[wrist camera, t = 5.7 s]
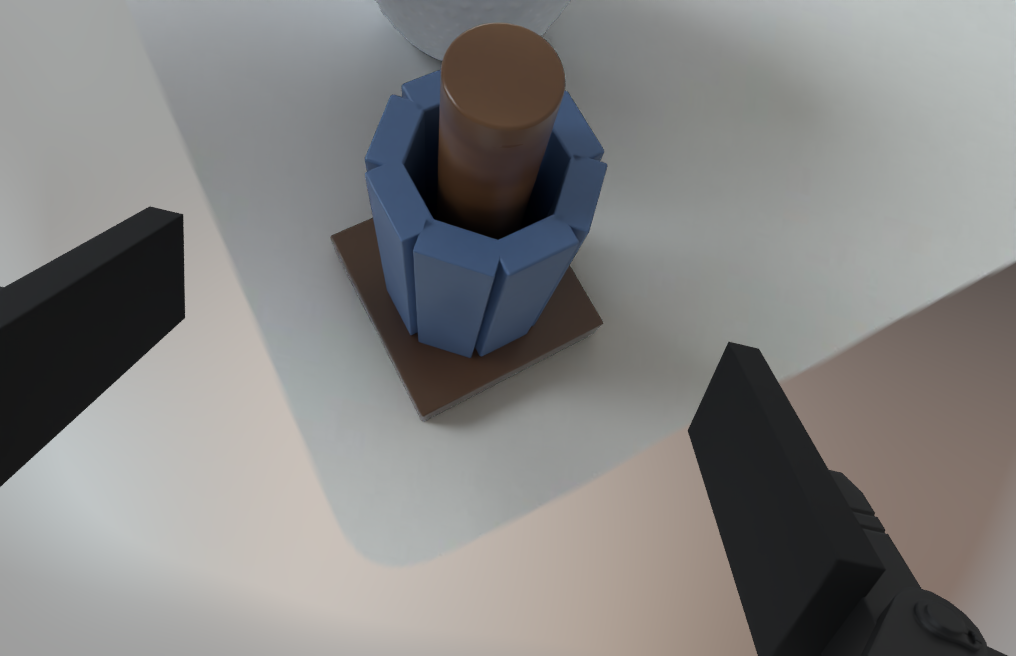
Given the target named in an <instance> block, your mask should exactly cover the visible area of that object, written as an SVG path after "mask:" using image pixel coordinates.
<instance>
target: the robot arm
mask: <svg viewBox="0 0 1016 656" xmlns="http://www.w3.org/2000/svg"><path fill="white" fill-rule="evenodd" d="M184 318H185V293H184V235H183V214H179V213H175V212H170V211H166V210H162V209H158V208H154V207H148V208H146V209H144V210H143V211H141V212H139V213H137V214H135V215H134V216H132V217H130V218H128V219H126V220H125V221H123V222H121V223H119V224H117V225H116V226H114V227H112V228H110V229H108V230H107V231H105V232H103V233H101V234H99V235H98V236H96V237H94V238H92V239H90V240H89V241H87V242H85V243H83V244H81V245H80V246H78V247H76V248H74V249H72V250H71V251H69V252H67V253H65V254H63V255H62V256H60V257H58V258H56V259H54V260H53V261H51V262H49V263H47V264H46V265H44V266H42V267H40V268H38V269H36V270H35V271H33V272H31V273H29V274H27V275H26V276H24V277H22V278H20V279H18V280H17V281H15V282H13V283H11V284H9V285H8V286H6V287H0V486H2V485H3V484H4V483H5V482H6V481H7V480H8V479H9V478H10V477H12V475H14V474H15V473H16V472H17V471H18V470H19V469H20V468H21V467H22V466H23V465H25V464H26V463H27V462H28V461H29V460H30V459H31V458H32V457H33V456H34V455H35V454H37V453H38V452H39V451H40V450H41V449H42V448H43V447H44V446H45V445H47V443H49V442H50V441H51V440H52V439H53V438H54V437H55V436H56V435H57V434H58V433H60V432H61V431H62V430H63V429H64V428H65V427H66V426H67V425H68V424H69V423H71V422H72V421H73V420H74V419H75V418H76V417H77V416H78V415H79V414H80V413H81V412H82V411H84V410H85V409H86V408H87V407H88V406H89V405H90V404H91V403H92V402H93V401H95V400H96V399H97V398H98V397H99V396H100V395H101V394H102V393H103V392H104V391H105V390H106V389H108V388H109V387H110V386H111V385H112V384H113V383H114V382H115V381H116V380H117V379H119V378H120V377H121V376H122V375H123V374H124V373H125V372H126V371H127V370H128V369H130V368H131V367H132V366H133V365H134V364H135V363H136V362H137V361H138V360H139V359H140V358H142V357H143V355H145V354H146V353H147V352H148V351H149V350H150V349H151V348H152V347H154V346H155V345H156V344H157V343H158V342H159V341H160V340H161V339H162V338H163V337H164V336H166V335H167V334H168V332H170V331H171V330H172V329H173V328H174V327H175V326H176V325H178V324H179V323H180V322H181V321H182V320H183V319H184ZM688 433H689V436H690V439H691V442H692V445H693V449H694V452H695V455H696V458H697V462H698V465H699V468H700V471H701V474H702V478H703V481H704V484H705V487H706V490H707V494H708V497H709V500H710V503H711V507H712V510H713V513H714V516H715V519H716V523H717V526H718V529H719V532H720V535H721V538H722V542H723V545H724V548H725V551H726V554H727V558H728V561H729V564H730V568H731V571H732V574H733V577H734V580H735V583H736V587H737V590H738V593H739V596H740V600H741V603H742V606H743V609H744V612H745V616H746V619H747V622H748V625H749V629H750V632H751V635H752V638H753V641H754V645H755V648H756V651H757V654H758V656H1007V655H1005V654H1003V653H1001V652H998V651H996V650H994V649H992V648H989V647H987V644H986V642H985V640H984V638H983V636H982V634H981V633H980V631H979V629H978V628H977V627H976V626H975V625H974V624H973V622H972V621H971V620H970V619H969V618H968V617H967V616H966V615H965V614H964V613H963V612H962V611H960V610H959V609H958V608H957V607H955V606H954V605H953V604H951V603H950V602H949V601H947V600H945V599H943V598H942V597H940V596H938V595H936V594H934V593H932V592H930V591H927V590H923V589H921V587H920V585H919V584H918V582H917V581H916V579H915V577H914V576H913V574H912V572H911V571H910V569H909V568H908V566H907V564H906V563H905V561H904V559H903V558H902V556H901V555H900V553H899V551H898V550H897V548H896V547H895V545H894V543H893V542H892V540H891V538H890V537H889V535H888V534H885V529H884V527H883V525H882V524H881V522H880V521H879V519H878V517H875V516H874V514H875V512H874V511H873V509H872V508H871V506H870V504H869V503H868V501H867V500H866V498H865V496H864V495H863V493H862V492H861V491H860V490H859V489H858V488H857V487H856V486H855V485H854V484H853V483H852V482H851V481H850V480H849V479H848V478H847V477H846V476H845V475H844V474H843V473H841V472H835V471H831V470H828V468H827V466H826V465H825V463H824V461H823V459H822V458H821V456H820V454H819V452H818V451H817V449H816V447H815V445H814V444H813V442H812V440H811V438H810V437H809V435H808V433H807V432H806V430H805V428H804V426H803V425H802V423H801V421H800V419H799V418H798V416H797V415H796V412H795V411H794V409H793V407H792V406H791V404H790V402H789V400H788V399H787V397H786V395H785V393H784V392H783V390H782V388H781V386H780V385H779V383H778V381H777V379H776V378H775V376H774V374H773V373H772V371H771V369H770V367H769V366H768V364H767V362H766V360H765V359H764V357H763V355H762V353H761V352H760V350H759V349H758V348H753V347H749V346H745V345H740V344H736V343H732V342H728V344H727V346H726V349H725V351H724V353H723V355H722V357H721V359H720V362H719V364H718V366H717V368H716V370H715V372H714V375H713V377H712V379H711V381H710V383H709V386H708V388H707V390H706V392H705V394H704V396H703V399H702V401H701V403H700V405H699V407H698V409H697V412H696V414H695V416H694V418H693V420H692V423H691V425H690V427H689V429H688Z"/></svg>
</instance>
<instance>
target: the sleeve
mask: <svg viewBox="0 0 1016 656" xmlns="http://www.w3.org/2000/svg"><path fill="white" fill-rule="evenodd" d="M440 79H441V70H438V71H435V72H433V73H430V74H427V75H425V76H422V77H420V78H417V79H414V80H412V81H409V82H406V83H404V84H403V85H402V86H401V87H402V97H400V96H397V95H391V96H390V98H389V100H388V103H387V105H386V108H385V110H384V113H383V115H382V117H381V120H380V122H379V125H378V127H377V130H376V132H375V134H374V137H373V139H372V142H371V144H370V147H369V149H368V151H367V154H366V156H365V164H366V169H367V172H366V173H365V178H366V183H367V188H368V193H369V199H370V204H371V209H372V215H373V220H374V225H375V230H376V236H377V241H378V246H379V251H380V257H381V262H382V267H383V272H384V278H385V283H386V288H387V291H388V293H389V295H390V297H391V299H392V301H393V303H394V305H395V306H396V308H397V310H398V312H399V314H400V316H401V318H402V320H403V322H404V324H405V326H406V328H407V330H408V331H409V333H410V335H413V334H415V333H417V332H418V341H419V342H421V343H424V344H427V345H430V346H433V347H436V348H440V349H443V350H446V351H449V352H452V353H456V354H459V355H462V356H465V357H468V358H471V357H472V354H473V351H474V347H475V348H476V350H477V352H478V354H479V356H484V355H486V354H488V353H490V352H492V351H494V350H496V349H498V348H500V347H502V346H504V345H506V344H508V343H510V342H512V341H514V340H516V339H518V338H520V337H522V336H524V335H526V334H527V333H528V331H529V329H530V327H531V326H534V325H535V323H536V321H537V320H538V318H539V316H540V315H541V313H542V311H543V309H544V308H545V306H546V304H547V303H548V301H549V299H550V298H551V296H552V294H553V292H554V291H555V289H556V287H557V286H558V284H559V282H560V280H561V279H562V277H563V275H564V274H565V272H566V270H567V268H568V267H569V265H570V263H571V262H572V260H573V258H574V257H575V255H576V253H577V251H578V250H579V248H580V246H581V245H582V243H583V241H584V239H585V238H586V236H587V234H588V233H589V230H590V227H591V223H592V220H593V216H594V212H595V209H596V205H597V202H598V198H599V194H600V191H601V187H602V184H603V180H604V176H605V173H606V169H607V164H606V163H604V162H600V160H601V158H602V156H603V154H604V149H603V147H602V146H601V144H600V143H599V141H598V139H597V138H596V136H595V135H594V133H593V131H592V130H591V128H590V127H589V125H588V123H587V122H586V120H585V119H584V117H583V115H582V114H581V112H580V110H579V109H578V107H577V106H576V104H575V102H574V101H573V99H572V98H571V96H570V94H569V93H568V92H567V91H564V96H563V99H562V102H561V105H560V108H559V111H558V114H557V117H556V120H555V123H554V126H553V129H552V132H551V135H550V138H549V141H548V144H547V147H546V150H545V153H544V156H543V159H542V162H541V165H540V168H539V172H538V175H537V178H536V181H535V184H534V187H533V190H532V193H531V196H530V199H529V202H528V205H527V208H526V211H525V214H524V217H523V220H522V223H521V226H520V229H519V230H518V231H516V232H514V233H512V234H510V235H508V236H505V237H503V238H501V239H499V240H497V239H493V238H490V237H487V236H484V235H481V234H478V233H475V232H472V231H469V230H465V229H462V228H459V227H456V226H453V225H450V224H447V223H444V222H441V221H437V220H436V216H437V182H438V147H439V113H440Z"/></svg>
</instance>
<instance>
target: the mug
mask: <svg viewBox="0 0 1016 656" xmlns="http://www.w3.org/2000/svg"><path fill="white" fill-rule="evenodd" d="M375 1H376V2H377V3H378V5H379V7H380V9H381V12H382V13H383V15H385V16H386V17H387V18H388V19H389V21H390V22H391V23H392V24H393V26H394V28H396V29H397V30H398V31H399V32H400V33H401V34H402V35H403V36H404V37H405V38H406V39H407V40H408V41H409V42H410V43H412V44H413V45H414V46H416V47H417V48H418V49H420V50H421V51H423V52H424V53H426V54H428V55H430V56H432V57H433V58H436V59H438V60H441V61H442V60H443V57H444V55H445V53H446V50H447V49H448V47H449V46H450V44H451V43H452V42H453V41H454V40H455V39H456V38H457V37H458V36H459V35H460V34H462V33H463V32H465V31H466V30H468V29H470V28H472V27H475V26H478V25H481V24H486V23H494V22H502V23H511V24H515V25H519V26H522V27H525V28H527V29H529V30H531V31H533V32H535V33H537V34H538V35H540V36H541V35H543V34H544V33H545V32H546V30H547V29H548V27H549V26H550V25H551V24H552V23H553V22H554V21H555V20H556V19H557V18H558V17H559V15H560V14H561V12H562V10H563V9H564V8H565V7H566V6H567V5H568V4H569V2H570V1H571V0H375Z"/></svg>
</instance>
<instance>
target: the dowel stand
mask: <svg viewBox="0 0 1016 656" xmlns="http://www.w3.org/2000/svg"><path fill="white" fill-rule="evenodd" d="M564 91H565V73H564V69H563V66H562V63H561V60H560V58H559V56H558V55H557V53H556V51H555V50H554V49H553V47H552V46H551V45H550V44H549V43H548V42H547V41H546V40H545V39H544V38H542V37H541V36H540V35H538V34H537V33H535V32H533V31H531V30H529V29H527V28H525V27H522V26H519V25H515V24H511V23H502V22H494V23H486V24H481V25H478V26H475V27H472V28H470V29H468V30H466V31H465V32H463V33H462V34H460V35H459V36H458V37H457V38H456V39H455V40H454V41H453V42H452V43H451V44H450V46H449V47H448V49H447V50H446V53H445V55H444V57H443V60H442V65H441V79H440V113H439V147H438V182H437V216H436V220H437V221H441V222H444V223H447V224H450V225H453V226H456V227H459V228H462V229H465V230H469V231H472V232H475V233H478V234H481V235H484V236H487V237H490V238H493V239H497V240H499V239H501V238H503V237H505V236H508V235H510V234H512V233H514V232H516V231H518V230H519V229H520V226H521V223H522V220H523V217H524V214H525V211H526V208H527V205H528V202H529V199H530V196H531V193H532V190H533V187H534V184H535V181H536V178H537V175H538V172H539V168H540V165H541V162H542V159H543V156H544V153H545V150H546V147H547V144H548V141H549V138H550V135H551V132H552V129H553V126H554V123H555V120H556V117H557V114H558V111H559V108H560V105H561V102H562V99H563V96H564ZM330 238H331V241H332V244H333V246H334V249H335V252H336V254H337V256H338V258H339V259H340V261H341V263H342V265H343V267H344V269H345V271H346V273H347V275H348V277H349V279H350V281H351V283H352V285H353V287H354V289H355V291H356V293H357V295H358V297H359V299H360V301H361V303H362V305H363V307H364V309H365V310H366V312H367V314H368V316H369V318H370V320H371V322H372V324H373V326H374V328H375V330H376V332H377V334H378V336H379V338H380V340H381V342H382V344H383V346H384V348H385V350H386V352H387V354H388V356H389V358H390V359H391V361H392V363H393V365H394V367H395V369H396V371H397V373H398V375H399V377H400V379H401V381H402V383H403V385H404V387H405V389H406V391H407V393H408V395H409V397H410V399H411V401H412V403H413V405H414V407H415V409H416V410H417V412H418V414H419V416H420V418H421V420H422V421H426V420H428V419H430V418H432V417H434V416H436V415H437V414H439V413H441V412H443V411H445V410H447V409H449V408H451V407H453V406H455V405H457V404H459V403H461V402H462V401H464V400H466V399H468V398H470V397H472V396H474V395H476V394H478V393H480V392H482V391H484V390H486V389H488V388H489V387H491V386H493V385H495V384H497V383H499V382H501V381H503V380H505V379H507V378H509V377H511V376H513V375H515V374H516V373H518V372H520V371H522V370H524V369H526V368H528V367H530V366H532V365H534V364H536V363H538V362H540V361H542V360H543V359H545V358H547V357H549V356H551V355H553V354H555V353H557V352H559V351H561V350H563V349H565V348H567V347H568V346H570V345H572V344H574V343H576V342H578V341H580V340H582V339H584V338H586V337H588V336H590V335H592V334H594V333H595V332H596V331H597V330H598V328H599V327H600V326H601V325H602V324H603V321H602V319H601V318H600V316H599V314H598V313H597V311H596V309H595V308H594V306H593V304H592V302H591V301H590V299H589V297H588V296H587V294H586V292H585V290H584V289H583V287H582V285H581V284H580V282H579V280H578V279H577V277H576V275H575V273H574V272H573V270H572V268H571V267H570V265H569V267H568V268H567V270H566V272H565V274H564V275H563V277H562V279H561V280H560V282H559V284H558V286H557V287H556V289H555V291H554V292H553V294H552V296H551V298H550V299H549V301H548V303H547V304H546V306H545V308H544V309H543V311H542V313H541V315H540V316H539V318H538V320H537V321H536V323H535V325H534V326H531V327H530V329H529V331H528V333H527V334H526V335H524V336H522V337H520V338H518V339H516V340H514V341H512V342H510V343H508V344H506V345H504V346H502V347H500V348H498V349H496V350H494V351H492V352H490V353H488V354H486V355H484V356H479V354H478V352H477V350H476V348H475V347H474V351H473V354H472V357H471V358H468V357H465V356H462V355H459V354H456V353H452V352H449V351H446V350H443V349H440V348H436V347H433V346H430V345H427V344H424V343H421V342H419V341H418V332H417V333H415V334H413V335H410V333H409V331H408V330H407V328H406V326H405V324H404V322H403V320H402V318H401V316H400V314H399V312H398V310H397V308H396V306H395V305H394V303H393V301H392V299H391V297H390V295H389V293H388V291H387V288H386V283H385V278H384V272H383V267H382V262H381V257H380V251H379V246H378V241H377V236H376V230H375V225H374V220H373V218H371V219H369V220H366V221H364V222H362V223H359V224H357V225H355V226H352V227H350V228H348V229H345V230H343V231H341V232H338V233H336V234H334V235H332V236H331V237H330Z"/></svg>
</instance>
